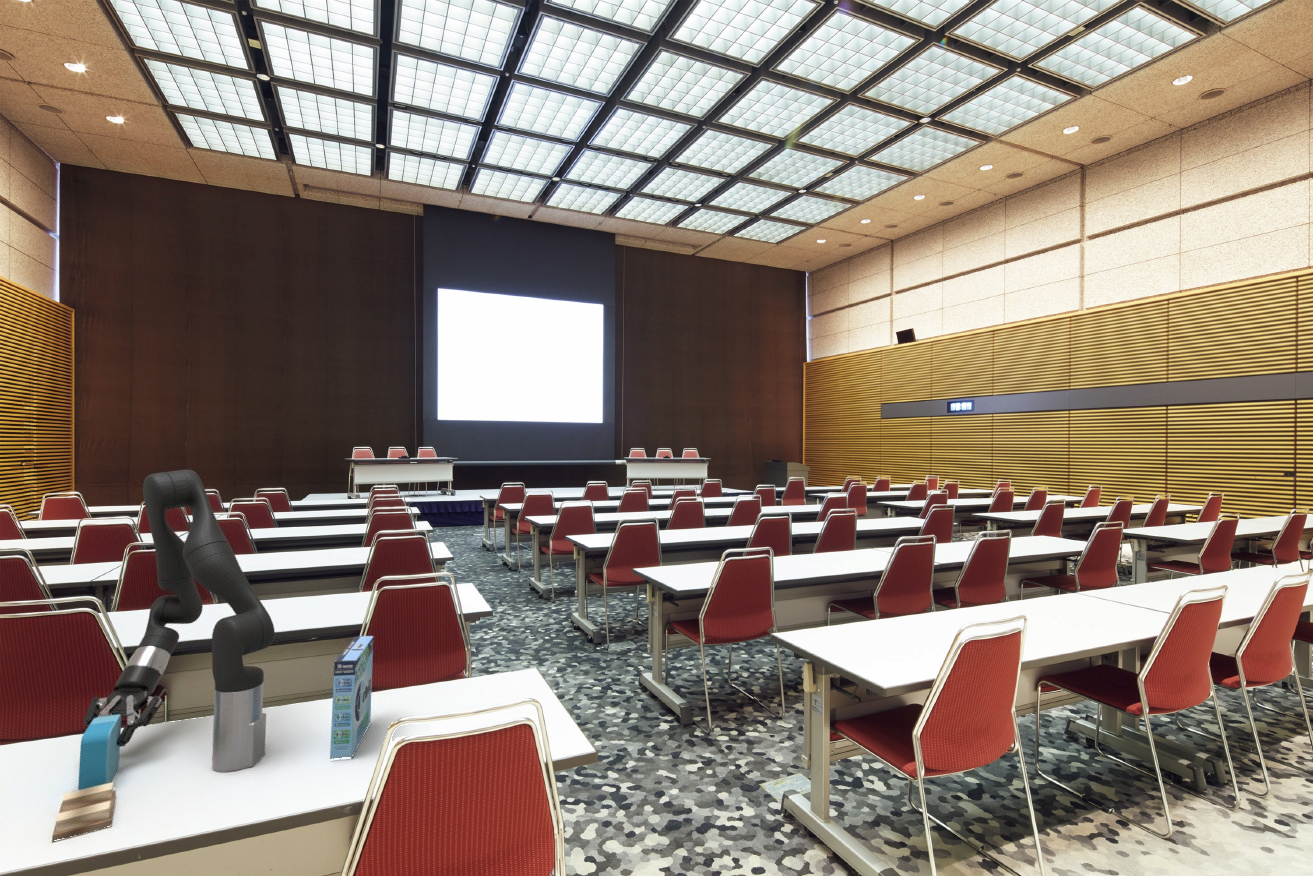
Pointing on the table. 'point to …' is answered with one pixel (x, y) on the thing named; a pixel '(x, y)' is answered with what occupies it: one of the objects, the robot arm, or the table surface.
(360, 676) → the blue product box
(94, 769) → the data package
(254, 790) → the table surface
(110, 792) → the display stand
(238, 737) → the robot arm
